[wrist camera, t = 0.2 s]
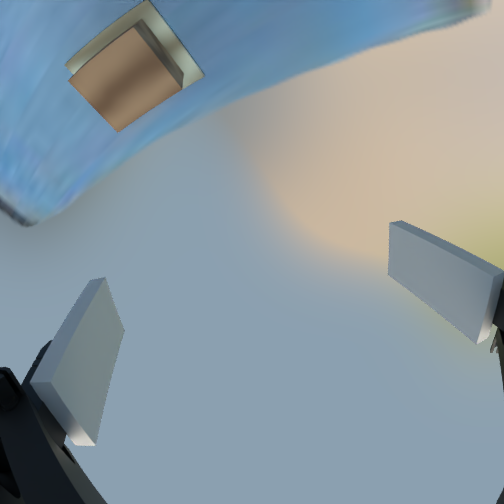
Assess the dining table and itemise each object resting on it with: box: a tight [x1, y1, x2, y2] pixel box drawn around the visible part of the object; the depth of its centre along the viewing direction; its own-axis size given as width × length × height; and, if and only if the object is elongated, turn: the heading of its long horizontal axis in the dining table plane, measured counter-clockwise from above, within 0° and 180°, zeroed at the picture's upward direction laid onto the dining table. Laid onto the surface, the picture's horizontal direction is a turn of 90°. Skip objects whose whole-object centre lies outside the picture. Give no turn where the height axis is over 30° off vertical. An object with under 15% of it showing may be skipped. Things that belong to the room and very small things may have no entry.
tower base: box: [65, 0, 205, 132], centre depth 31 cm, size 14×14×7 cm
